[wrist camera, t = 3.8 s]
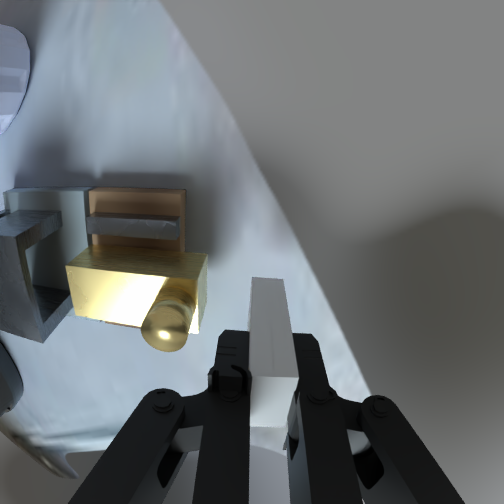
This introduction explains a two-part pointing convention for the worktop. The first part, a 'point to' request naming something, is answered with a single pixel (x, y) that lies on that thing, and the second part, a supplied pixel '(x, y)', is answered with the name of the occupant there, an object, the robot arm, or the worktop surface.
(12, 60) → the soap bottle
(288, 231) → the worktop surface
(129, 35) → the worktop surface
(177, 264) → the bolt
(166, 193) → the panel
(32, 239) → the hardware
